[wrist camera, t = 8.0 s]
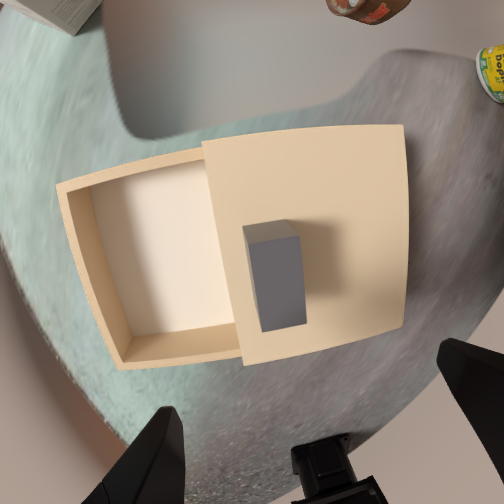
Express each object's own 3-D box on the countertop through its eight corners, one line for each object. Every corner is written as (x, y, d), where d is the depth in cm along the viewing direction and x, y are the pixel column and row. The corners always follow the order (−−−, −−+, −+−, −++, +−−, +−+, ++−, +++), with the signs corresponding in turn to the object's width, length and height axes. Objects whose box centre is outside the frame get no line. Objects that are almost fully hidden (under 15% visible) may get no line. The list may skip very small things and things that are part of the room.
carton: (263, 321, 21) (271, 350, 17) (129, 341, 20) (118, 370, 17) (236, 143, 17) (240, 140, 13) (81, 178, 16) (55, 184, 13)
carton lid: (398, 323, 18) (426, 352, 14) (243, 360, 17) (249, 401, 14) (397, 125, 14) (437, 122, 10) (202, 142, 13) (196, 137, 10)
